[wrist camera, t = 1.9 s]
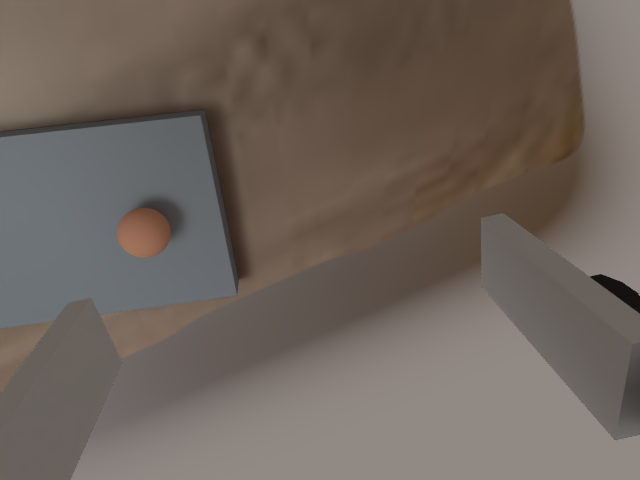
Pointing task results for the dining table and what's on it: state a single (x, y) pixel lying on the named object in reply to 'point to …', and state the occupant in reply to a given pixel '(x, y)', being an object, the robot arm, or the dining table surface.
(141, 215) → the ball
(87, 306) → the robot arm
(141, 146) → the plate
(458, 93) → the dining table surface
